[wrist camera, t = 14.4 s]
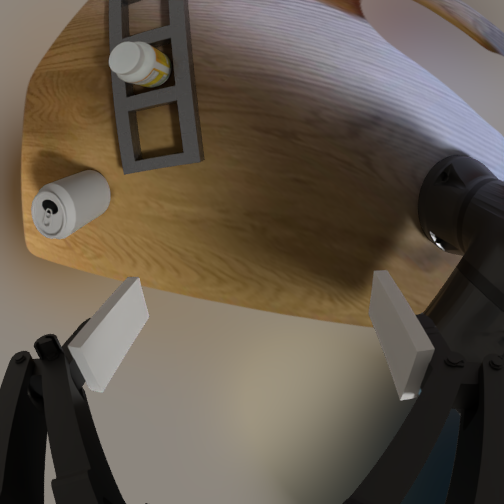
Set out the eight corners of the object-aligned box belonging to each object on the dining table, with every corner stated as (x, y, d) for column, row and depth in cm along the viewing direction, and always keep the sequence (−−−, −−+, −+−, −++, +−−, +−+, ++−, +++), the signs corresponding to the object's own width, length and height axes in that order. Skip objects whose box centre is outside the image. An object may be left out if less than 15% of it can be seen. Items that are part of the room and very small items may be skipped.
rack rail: (186, -20, 28) (181, -27, 26) (204, 159, 39) (200, 162, 37) (116, 1, 29) (109, -4, 27) (131, 171, 40) (124, 174, 38)
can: (117, 175, 41) (71, 195, 30) (109, 221, 44) (66, 252, 33) (78, 163, 40) (28, 180, 29) (72, 207, 43) (26, 233, 32)
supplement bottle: (166, 90, 36) (137, 83, 27) (132, 84, 35) (97, 78, 27) (177, 54, 34) (152, 38, 25) (143, 50, 33) (111, 35, 24)
